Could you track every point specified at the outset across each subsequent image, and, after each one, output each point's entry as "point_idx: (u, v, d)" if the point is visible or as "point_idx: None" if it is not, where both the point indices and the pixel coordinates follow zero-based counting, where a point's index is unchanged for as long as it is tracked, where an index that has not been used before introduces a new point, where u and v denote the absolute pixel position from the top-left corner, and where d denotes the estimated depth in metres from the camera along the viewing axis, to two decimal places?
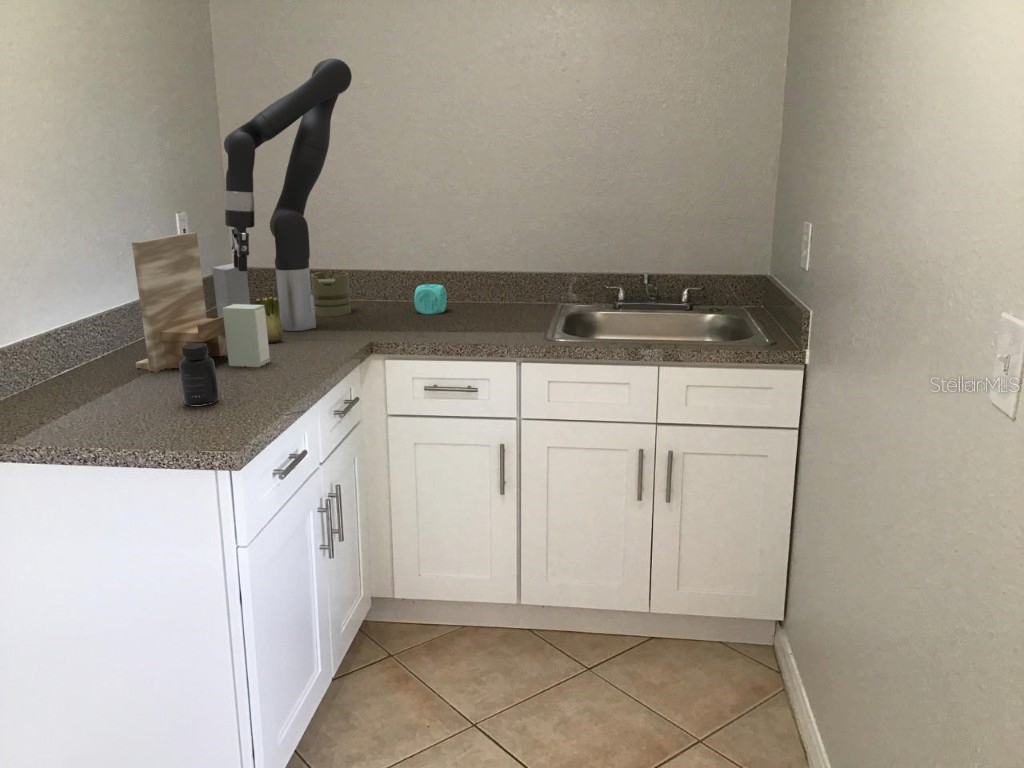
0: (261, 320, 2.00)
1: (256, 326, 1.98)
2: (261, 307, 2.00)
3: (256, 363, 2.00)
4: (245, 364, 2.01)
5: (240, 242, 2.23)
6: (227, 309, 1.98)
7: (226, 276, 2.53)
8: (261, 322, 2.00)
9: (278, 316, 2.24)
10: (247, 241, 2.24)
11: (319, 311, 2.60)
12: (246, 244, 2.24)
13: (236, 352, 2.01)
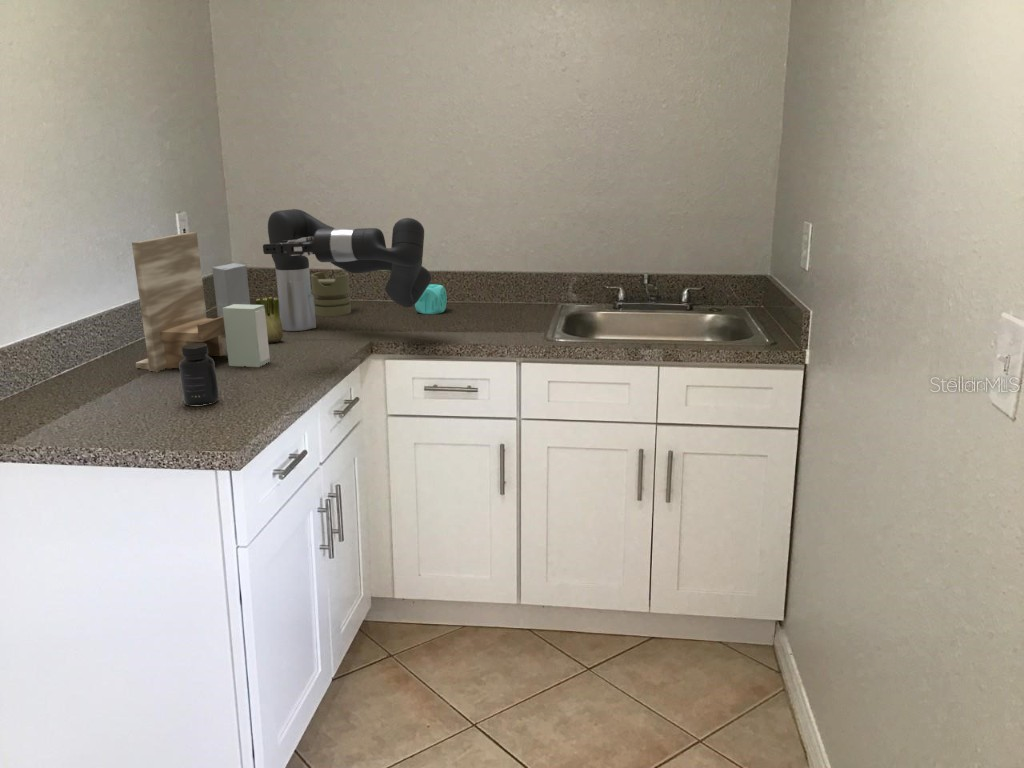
0: (261, 320, 2.00)
1: (256, 326, 1.98)
2: (261, 307, 2.00)
3: (256, 363, 2.00)
4: (245, 364, 2.01)
5: (290, 245, 1.87)
6: (227, 309, 1.98)
7: (226, 276, 2.53)
8: (261, 322, 2.00)
9: (278, 316, 2.24)
10: (292, 253, 1.87)
11: (319, 311, 2.60)
12: (289, 252, 1.87)
13: (236, 352, 2.01)
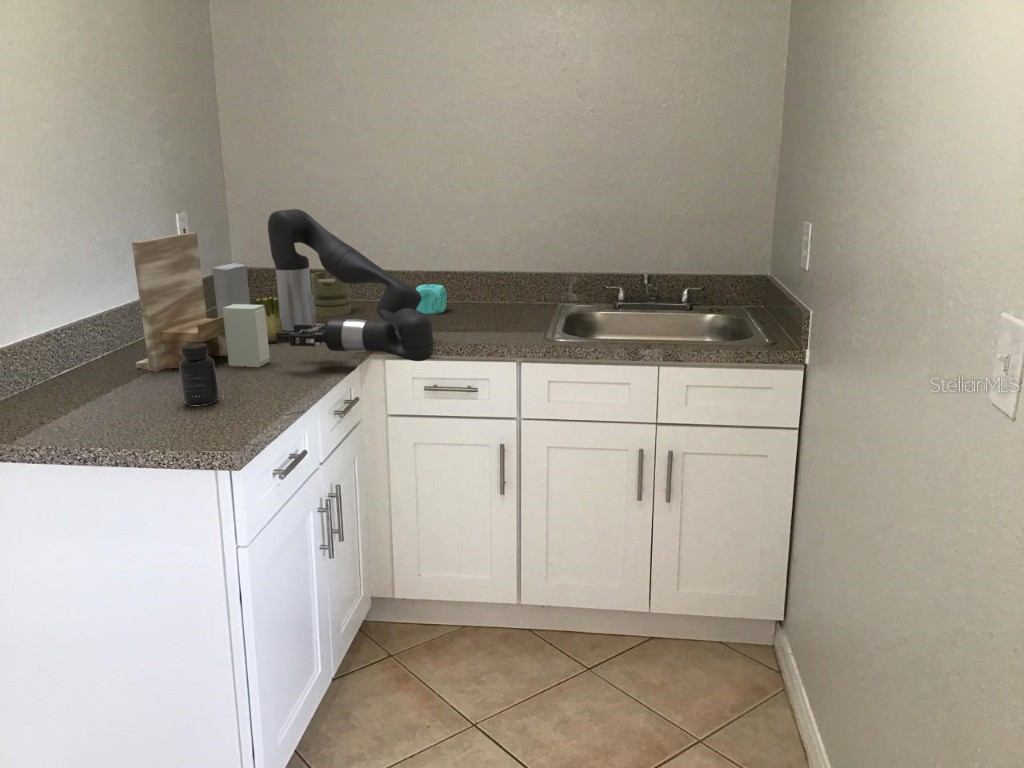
0: (261, 320, 2.00)
1: (256, 326, 1.98)
2: (261, 307, 2.00)
3: (255, 363, 2.00)
4: (245, 364, 2.01)
5: (302, 337, 1.91)
6: (227, 309, 1.98)
7: (226, 276, 2.53)
8: (261, 322, 2.00)
9: (278, 316, 2.24)
10: (304, 344, 1.91)
11: (319, 311, 2.60)
12: (301, 343, 1.91)
13: (236, 352, 2.01)
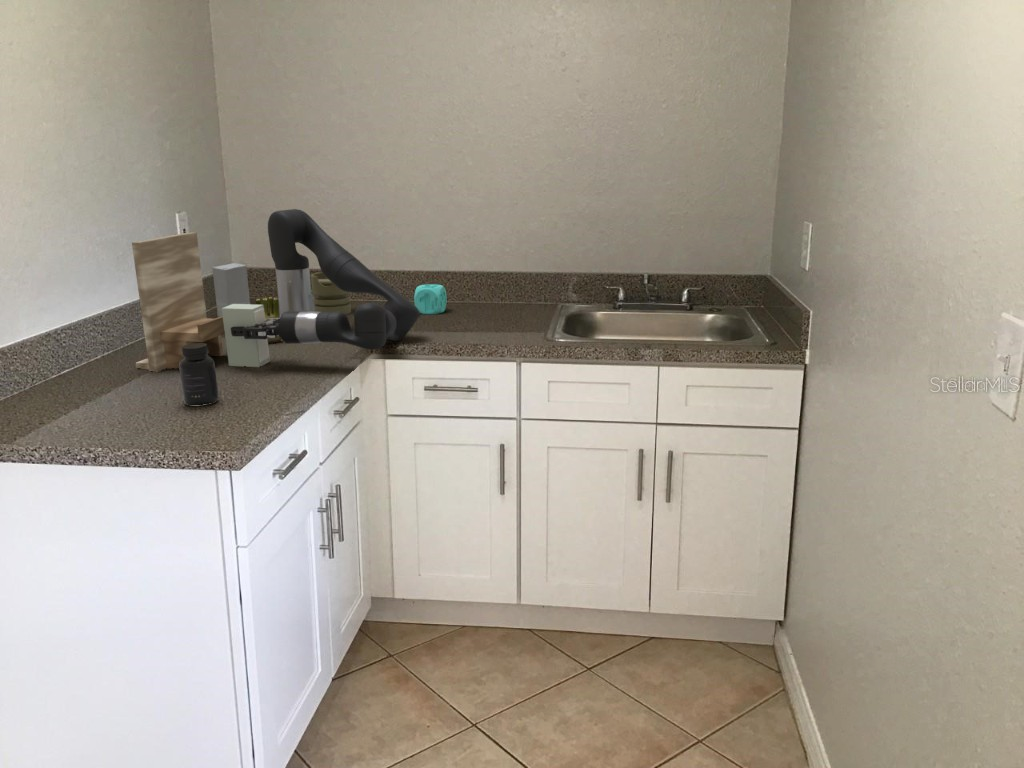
0: (260, 320, 2.00)
1: None
2: (260, 307, 2.00)
3: (255, 363, 2.00)
4: (245, 364, 2.01)
5: (254, 329, 1.93)
6: (226, 309, 1.98)
7: (226, 276, 2.53)
8: (260, 322, 2.00)
9: (278, 316, 2.24)
10: (256, 337, 1.93)
11: (319, 311, 2.60)
12: (253, 336, 1.93)
13: (236, 352, 2.01)
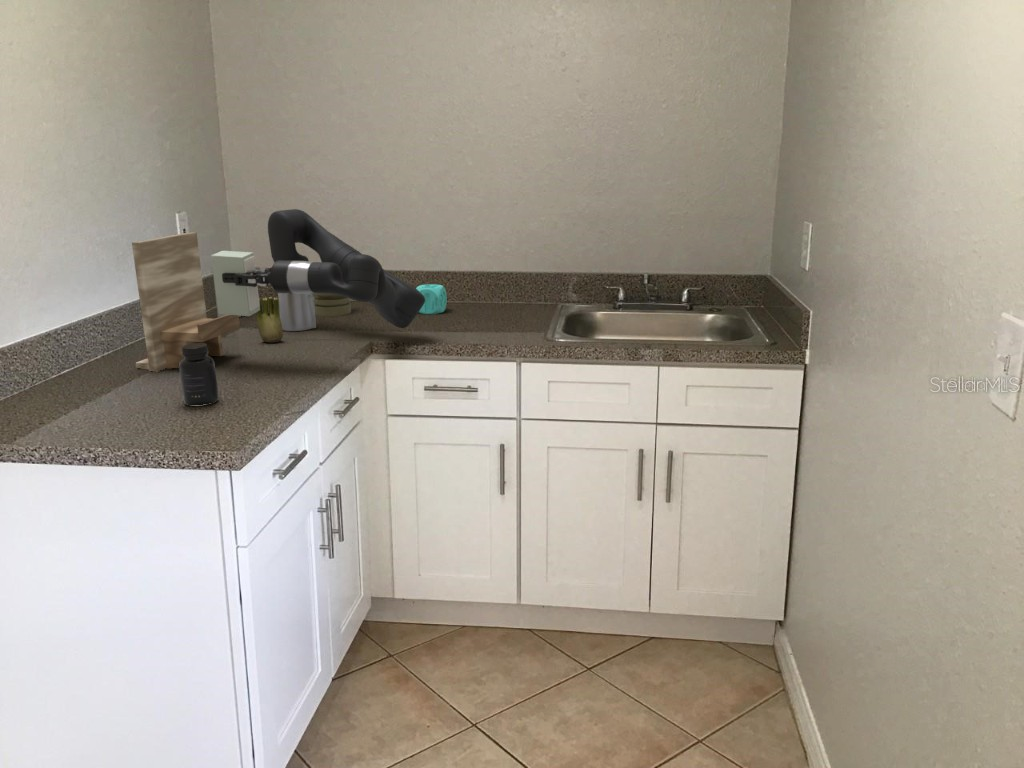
0: (250, 268, 1.97)
1: None
2: (250, 255, 1.97)
3: (245, 311, 1.98)
4: (235, 313, 1.99)
5: (244, 276, 1.91)
6: (215, 257, 1.95)
7: None
8: None
9: (278, 316, 2.24)
10: (246, 284, 1.91)
11: (319, 311, 2.60)
12: (243, 283, 1.91)
13: (226, 301, 1.98)
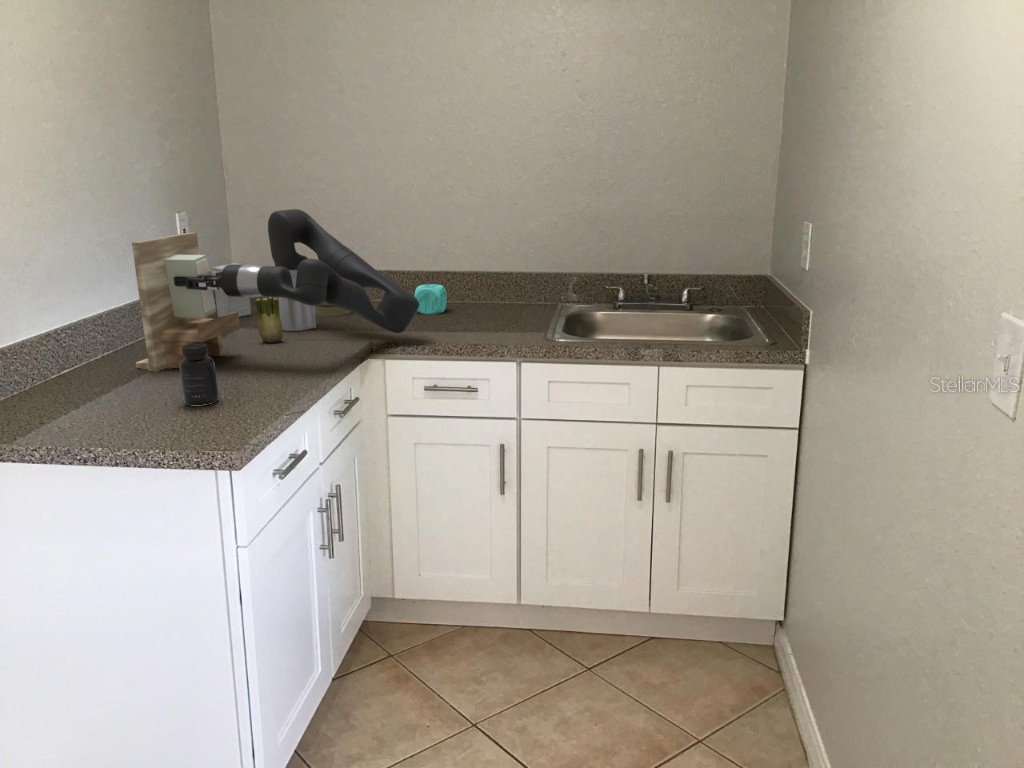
0: (203, 270, 1.99)
1: None
2: (203, 257, 1.99)
3: (201, 313, 2.01)
4: (190, 315, 2.02)
5: (195, 280, 1.94)
6: (168, 260, 1.98)
7: None
8: (204, 272, 1.99)
9: (278, 316, 2.24)
10: (197, 288, 1.94)
11: (319, 311, 2.60)
12: (194, 286, 1.94)
13: (181, 304, 2.01)
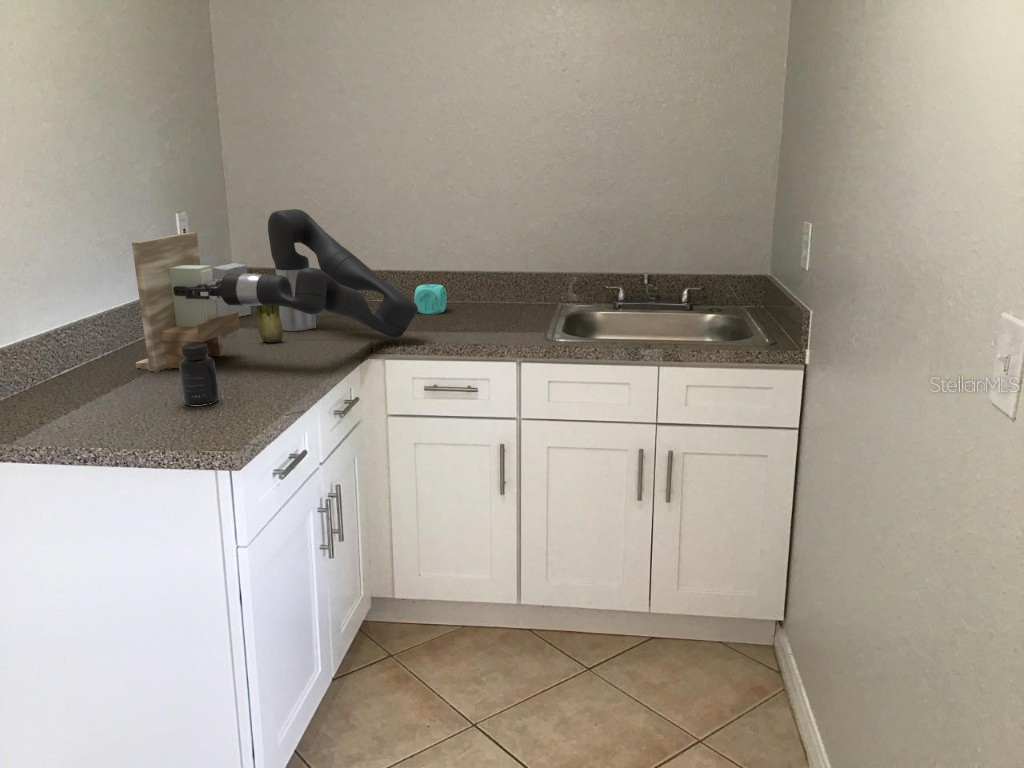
0: (208, 280, 2.01)
1: (202, 286, 1.99)
2: (208, 267, 2.01)
3: None
4: (192, 324, 2.02)
5: (196, 289, 1.94)
6: (173, 269, 2.00)
7: None
8: (208, 282, 2.01)
9: (278, 316, 2.24)
10: (199, 297, 1.94)
11: None
12: (195, 296, 1.94)
13: (183, 313, 2.02)
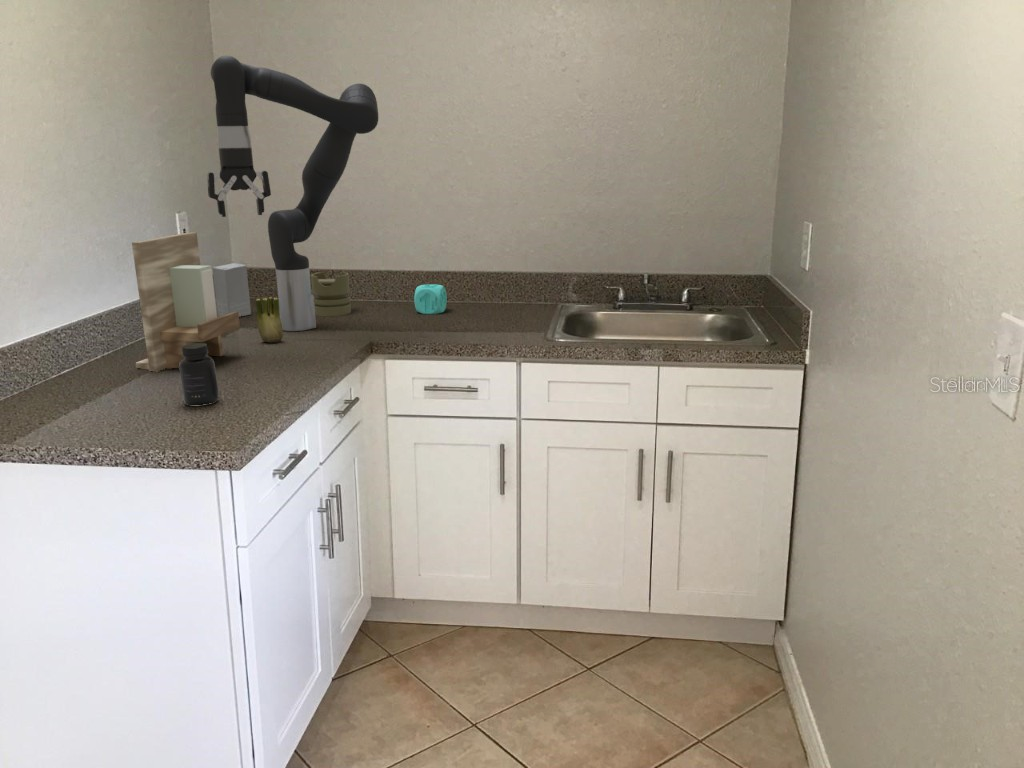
0: (208, 280, 2.01)
1: (202, 286, 1.99)
2: (208, 267, 2.01)
3: None
4: (192, 324, 2.02)
5: None
6: (173, 269, 2.00)
7: (226, 276, 2.53)
8: (208, 282, 2.01)
9: (278, 316, 2.24)
10: (208, 182, 2.00)
11: (319, 311, 2.60)
12: (208, 185, 2.00)
13: (183, 313, 2.02)
